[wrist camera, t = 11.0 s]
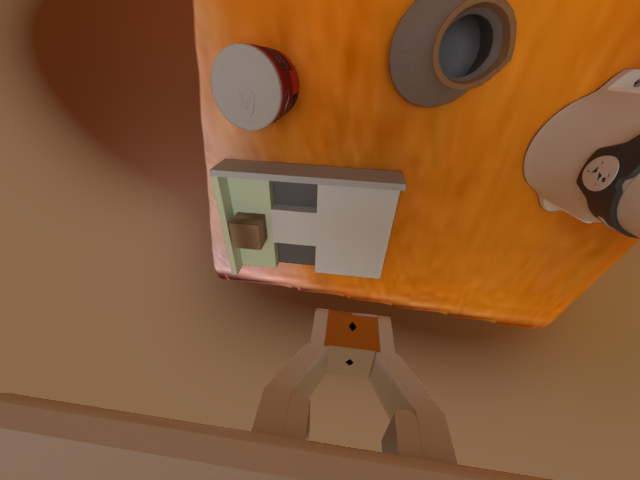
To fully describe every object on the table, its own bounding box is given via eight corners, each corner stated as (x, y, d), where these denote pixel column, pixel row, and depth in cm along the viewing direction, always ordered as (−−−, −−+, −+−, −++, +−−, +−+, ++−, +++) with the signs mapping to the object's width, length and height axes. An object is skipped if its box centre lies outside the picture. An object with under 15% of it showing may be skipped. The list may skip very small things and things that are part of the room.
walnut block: (265, 214, 45) (258, 225, 41) (267, 237, 48) (261, 250, 44) (237, 211, 45) (228, 223, 42) (241, 235, 48) (233, 247, 45)
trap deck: (401, 171, 40) (406, 184, 36) (378, 270, 52) (381, 289, 48) (224, 158, 42) (209, 169, 38) (242, 257, 54) (232, 274, 50)
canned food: (259, 121, 39) (230, 138, 30) (236, 59, 34) (194, 57, 25) (306, 107, 37) (291, 121, 28) (289, 40, 33) (264, 30, 24)
